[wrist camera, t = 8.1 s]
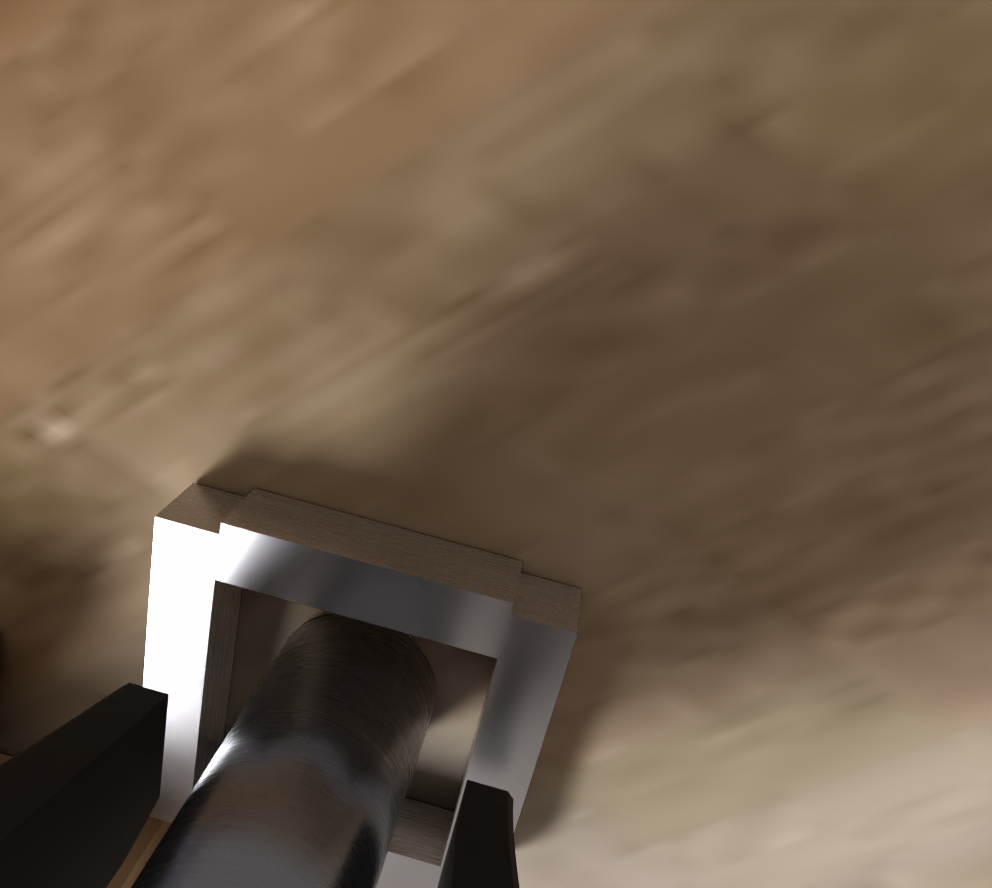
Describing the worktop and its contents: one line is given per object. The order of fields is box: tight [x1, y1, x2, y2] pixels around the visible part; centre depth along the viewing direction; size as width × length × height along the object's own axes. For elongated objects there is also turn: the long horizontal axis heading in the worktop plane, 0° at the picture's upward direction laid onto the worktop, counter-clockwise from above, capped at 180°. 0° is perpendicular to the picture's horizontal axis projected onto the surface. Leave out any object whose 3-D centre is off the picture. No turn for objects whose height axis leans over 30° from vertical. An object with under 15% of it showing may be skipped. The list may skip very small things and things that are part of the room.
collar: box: [143, 483, 582, 888], centre depth 14 cm, size 6×6×1 cm
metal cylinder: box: [131, 614, 436, 888], centre depth 11 cm, size 3×3×7 cm
